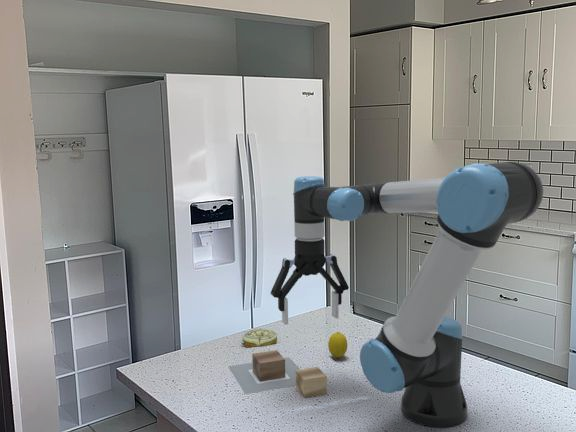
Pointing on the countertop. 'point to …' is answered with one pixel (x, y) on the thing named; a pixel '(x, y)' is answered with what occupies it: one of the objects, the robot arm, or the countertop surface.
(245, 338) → the decorated donut
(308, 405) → the countertop surface
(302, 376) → the oak cube
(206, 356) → the countertop surface
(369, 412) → the countertop surface
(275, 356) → the walnut base
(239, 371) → the grey square plate
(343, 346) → the lemon
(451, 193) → the robot arm
